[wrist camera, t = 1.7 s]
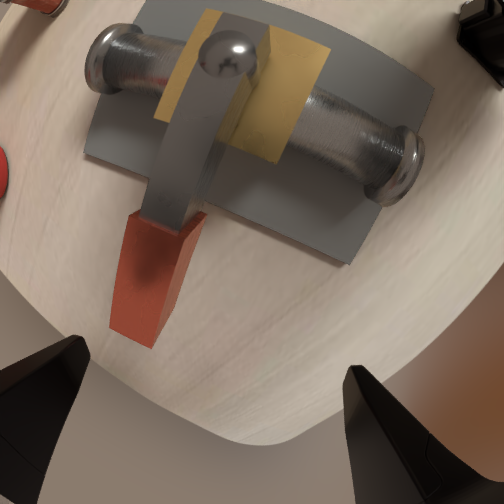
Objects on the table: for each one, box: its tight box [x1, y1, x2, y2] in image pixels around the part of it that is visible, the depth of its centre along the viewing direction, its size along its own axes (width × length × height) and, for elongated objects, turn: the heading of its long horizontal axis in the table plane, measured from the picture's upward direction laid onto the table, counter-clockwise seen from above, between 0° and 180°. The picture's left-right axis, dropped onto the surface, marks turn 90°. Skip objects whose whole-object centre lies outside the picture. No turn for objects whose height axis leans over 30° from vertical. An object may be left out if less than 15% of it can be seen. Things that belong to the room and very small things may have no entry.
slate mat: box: [83, 0, 434, 265], centre depth 16 cm, size 22×15×1 cm
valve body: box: [85, 8, 425, 207], centre depth 13 cm, size 20×6×7 cm, turn 67°
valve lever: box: [109, 12, 271, 349], centre depth 10 cm, size 13×2×3 cm, turn 157°
